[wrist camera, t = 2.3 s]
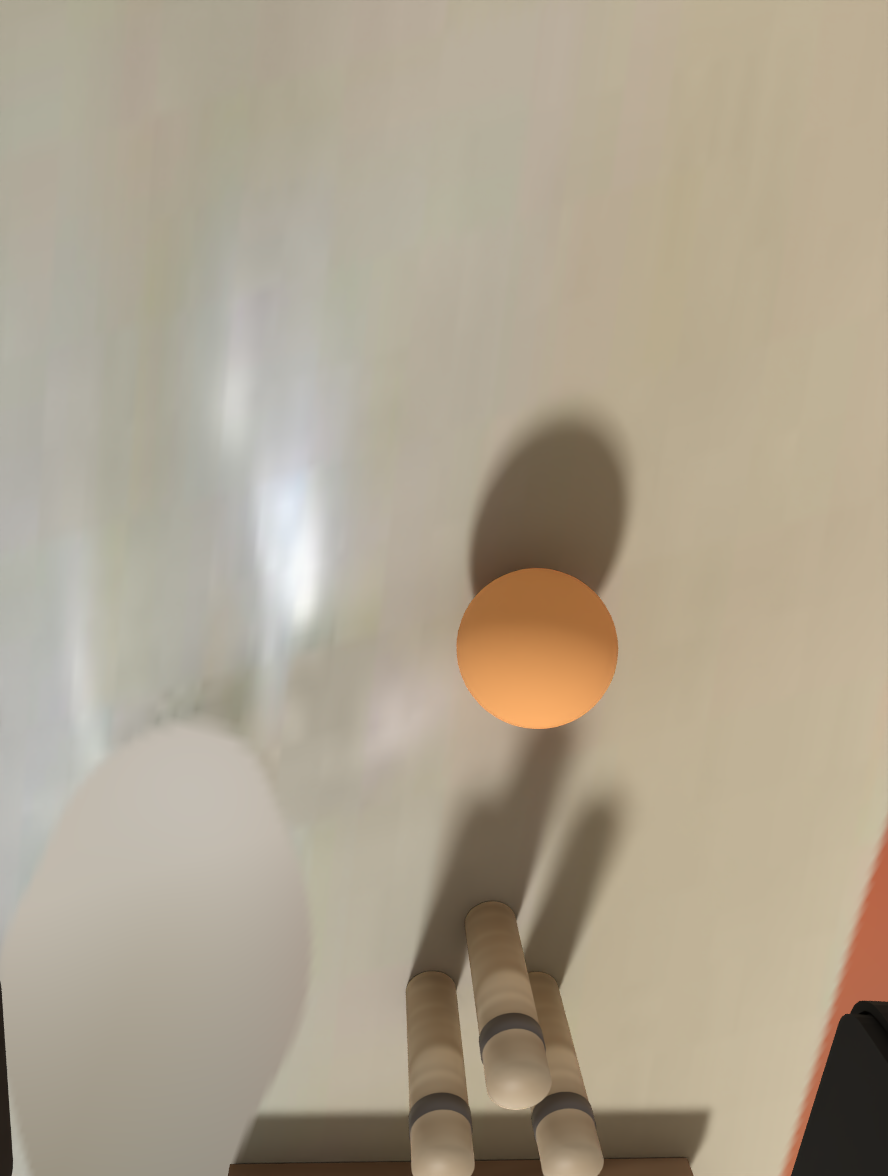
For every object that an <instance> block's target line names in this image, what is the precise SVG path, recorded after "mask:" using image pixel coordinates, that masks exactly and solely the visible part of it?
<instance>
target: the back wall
mask: <svg viewBox="0 0 888 1176" xmlns="http://www.w3.org/2000/svg"><path fill="white" fill-rule="evenodd" d="M228 1176H413V1174H412V1169H411V1162H352V1163H282V1164H230V1167H229V1173H228ZM471 1176H544V1174H543V1172H542V1167H541V1161H540V1160H493V1161H475V1167H474V1171H473V1173H472V1175H471ZM597 1176H693V1173H692V1170H691V1168H690V1165H689V1162H688V1159H687V1158H634V1159H604V1164H603V1168H602V1170H601V1171H600V1173H599V1174H598V1175H597Z"/></svg>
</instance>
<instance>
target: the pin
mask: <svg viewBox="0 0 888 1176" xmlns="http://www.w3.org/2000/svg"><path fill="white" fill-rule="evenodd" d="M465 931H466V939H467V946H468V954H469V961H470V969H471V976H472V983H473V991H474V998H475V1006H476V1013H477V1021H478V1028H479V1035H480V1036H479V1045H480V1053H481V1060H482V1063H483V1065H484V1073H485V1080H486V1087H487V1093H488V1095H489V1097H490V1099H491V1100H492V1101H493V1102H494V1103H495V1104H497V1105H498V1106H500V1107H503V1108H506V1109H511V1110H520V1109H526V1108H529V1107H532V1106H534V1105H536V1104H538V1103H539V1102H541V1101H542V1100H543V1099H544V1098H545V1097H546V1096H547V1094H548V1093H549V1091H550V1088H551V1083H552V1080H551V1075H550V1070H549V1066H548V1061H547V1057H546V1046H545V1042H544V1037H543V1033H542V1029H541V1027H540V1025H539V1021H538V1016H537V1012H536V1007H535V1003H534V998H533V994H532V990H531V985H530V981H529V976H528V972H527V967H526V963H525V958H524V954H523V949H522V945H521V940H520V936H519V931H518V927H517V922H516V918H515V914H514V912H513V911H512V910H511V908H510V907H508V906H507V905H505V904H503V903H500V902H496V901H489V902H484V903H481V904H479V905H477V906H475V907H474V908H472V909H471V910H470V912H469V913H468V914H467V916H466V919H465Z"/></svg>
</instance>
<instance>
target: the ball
mask: <svg viewBox="0 0 888 1176" xmlns="http://www.w3.org/2000/svg"><path fill="white" fill-rule="evenodd" d="M617 657H618V640H617V635H616V630H615V626H614V623H613V620H612V617H611V615H610V613H609V612H608V610H607V608H606V606H605V604H604V603H603V602H602V600H601V599H600V598H599V596H598V595H597V594H596V593H595V592H594V591H593V590H592V589H590V588H589V587H588V586H587V585H585V584H584V583H583V582H582V581H580V580H578V579H576V578H575V577H573V576H570V575H568V574H565V573H563V572H560V571H556V570H552V569H545V568H529V569H521V570H517V571H514V572H510V573H508V574H505V575H503V576H501V577H499V578H497V579H495V580H494V581H492V582H491V583H489V584H488V585H487V586H485V587H484V588H483V589H482V590H481V591H480V592H479V593H478V594H477V595H476V596H475V598H474V599H473V600H472V601H471V603H470V604H469V606H468V608H467V609H466V611H465V613H464V616H463V618H462V620H461V624H460V627H459V630H458V636H457V659H458V665H459V669H460V672H461V675H462V678H463V680H464V682H465V685H466V687H467V688H468V690H469V691H470V693H471V694H472V696H473V697H474V698H475V699H476V700H477V702H478V703H479V704H480V705H481V706H482V707H483V708H484V709H485V710H486V711H488V712H489V713H491V714H492V715H494V716H495V717H497V718H498V719H500V720H502V721H504V722H506V723H509V724H512V725H515V726H519V727H524V728H533V729H546V728H553V727H557V726H561V725H564V724H567V723H569V722H572V721H574V720H576V719H577V718H579V717H581V716H582V715H584V714H585V713H587V712H588V711H589V710H590V709H591V708H592V707H594V706H595V705H596V703H597V702H598V701H599V700H600V699H601V698H602V696H603V695H604V693H605V692H606V690H607V689H608V687H609V685H610V683H611V681H612V678H613V675H614V673H615V669H616V664H617Z"/></svg>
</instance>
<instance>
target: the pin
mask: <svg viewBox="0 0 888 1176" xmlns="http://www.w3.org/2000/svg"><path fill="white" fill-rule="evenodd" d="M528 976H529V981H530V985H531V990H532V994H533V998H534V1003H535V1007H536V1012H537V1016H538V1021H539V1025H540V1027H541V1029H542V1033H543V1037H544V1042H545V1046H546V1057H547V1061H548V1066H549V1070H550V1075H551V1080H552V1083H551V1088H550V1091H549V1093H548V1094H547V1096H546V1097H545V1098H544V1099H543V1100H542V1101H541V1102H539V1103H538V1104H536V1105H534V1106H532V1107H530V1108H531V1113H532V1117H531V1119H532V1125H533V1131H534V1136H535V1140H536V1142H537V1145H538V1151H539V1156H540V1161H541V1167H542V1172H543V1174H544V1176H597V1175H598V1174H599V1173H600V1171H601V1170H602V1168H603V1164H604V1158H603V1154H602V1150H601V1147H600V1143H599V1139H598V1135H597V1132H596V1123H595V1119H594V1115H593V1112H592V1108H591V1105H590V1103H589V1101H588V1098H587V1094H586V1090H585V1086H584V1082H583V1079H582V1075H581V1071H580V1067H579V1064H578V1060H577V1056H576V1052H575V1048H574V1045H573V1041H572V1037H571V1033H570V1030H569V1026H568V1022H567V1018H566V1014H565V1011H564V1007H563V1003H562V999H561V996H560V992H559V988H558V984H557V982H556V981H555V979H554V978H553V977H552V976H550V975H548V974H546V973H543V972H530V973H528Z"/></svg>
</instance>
